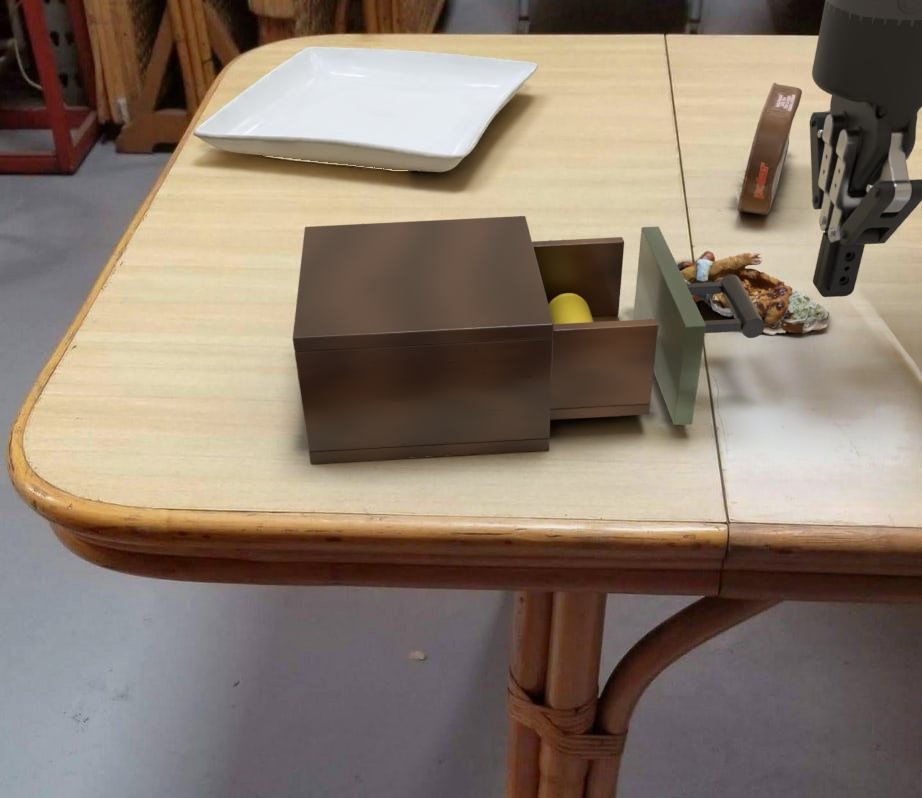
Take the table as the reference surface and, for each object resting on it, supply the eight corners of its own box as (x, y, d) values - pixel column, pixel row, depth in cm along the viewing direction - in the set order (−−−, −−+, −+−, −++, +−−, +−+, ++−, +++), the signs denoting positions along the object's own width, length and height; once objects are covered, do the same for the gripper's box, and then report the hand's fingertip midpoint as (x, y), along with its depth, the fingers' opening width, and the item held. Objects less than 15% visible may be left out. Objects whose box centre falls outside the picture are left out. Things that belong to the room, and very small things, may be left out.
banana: (590, 317, 74) (581, 279, 72) (613, 388, 67) (603, 348, 65) (548, 330, 74) (538, 292, 72) (566, 401, 67) (555, 361, 65)
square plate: (309, 77, 122) (304, 41, 120) (540, 96, 116) (541, 58, 113) (194, 165, 103) (186, 124, 100) (464, 194, 96) (464, 151, 94)
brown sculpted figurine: (823, 344, 75) (834, 297, 73) (654, 320, 78) (658, 275, 76) (831, 298, 80) (841, 253, 78) (671, 277, 83) (676, 234, 81)
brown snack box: (756, 162, 100) (771, 68, 95) (790, 166, 99) (808, 71, 94) (731, 228, 90) (747, 126, 84) (770, 233, 89) (788, 130, 83)
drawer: (717, 313, 77) (730, 222, 72) (770, 420, 67) (790, 321, 62) (460, 327, 76) (458, 235, 72) (474, 436, 66) (472, 338, 61)
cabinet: (523, 331, 77) (525, 215, 72) (549, 450, 66) (553, 324, 61) (319, 342, 77) (304, 226, 71) (310, 464, 66) (292, 338, 60)
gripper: (1025, 26, 52) (929, 340, 64) (920, -37, 62) (853, 244, 74) (875, 32, 52) (805, 346, 63) (793, -33, 62) (746, 248, 73)
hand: (831, 290), depth 68 cm, fingers closed
